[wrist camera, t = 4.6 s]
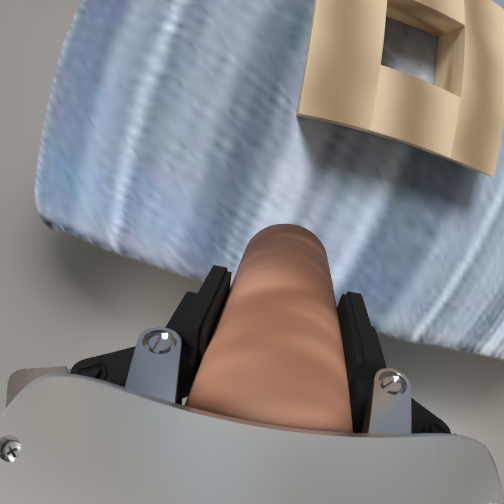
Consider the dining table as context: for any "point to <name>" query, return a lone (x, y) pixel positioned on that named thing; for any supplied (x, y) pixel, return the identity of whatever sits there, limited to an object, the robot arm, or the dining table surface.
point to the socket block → (406, 86)
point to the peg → (278, 339)
